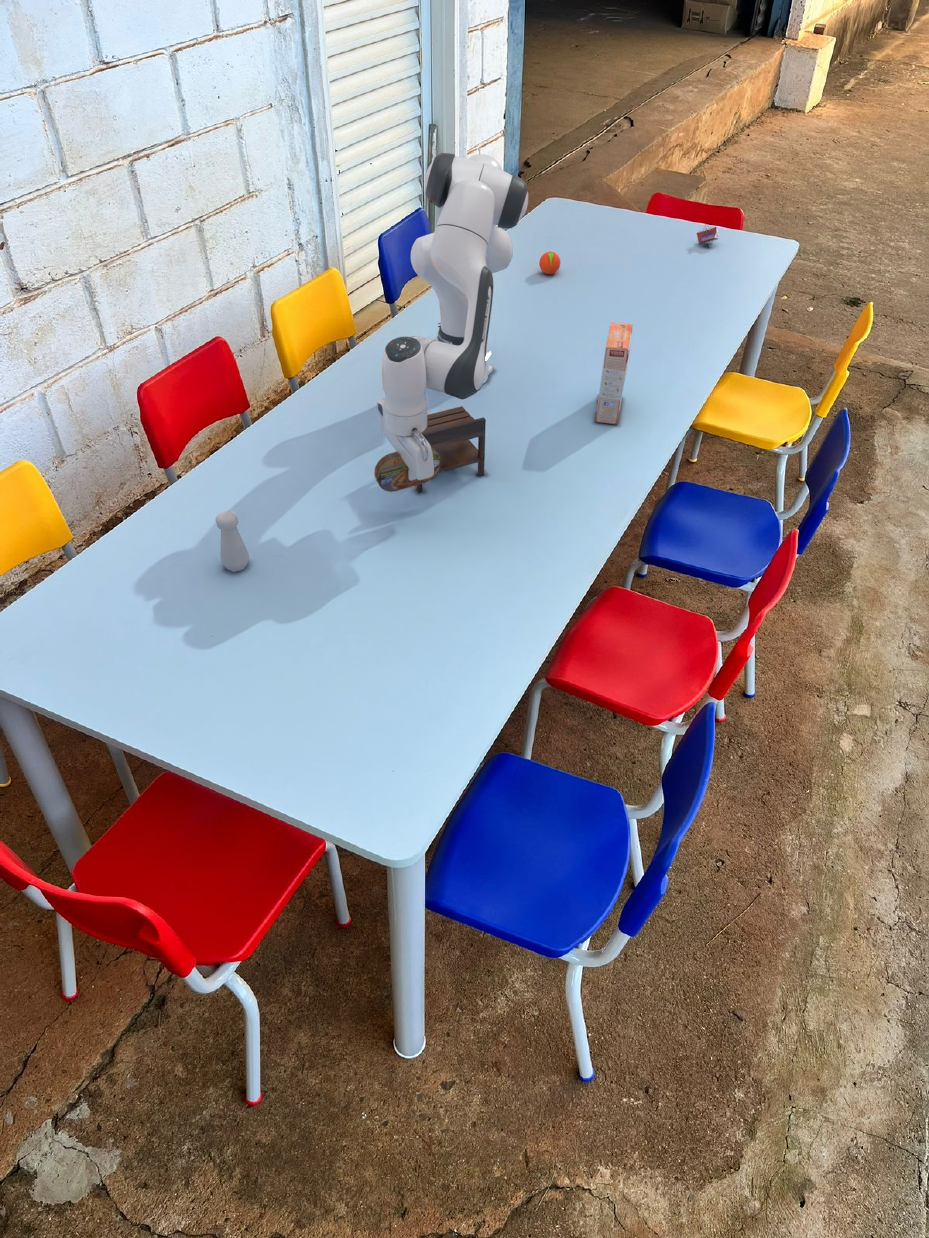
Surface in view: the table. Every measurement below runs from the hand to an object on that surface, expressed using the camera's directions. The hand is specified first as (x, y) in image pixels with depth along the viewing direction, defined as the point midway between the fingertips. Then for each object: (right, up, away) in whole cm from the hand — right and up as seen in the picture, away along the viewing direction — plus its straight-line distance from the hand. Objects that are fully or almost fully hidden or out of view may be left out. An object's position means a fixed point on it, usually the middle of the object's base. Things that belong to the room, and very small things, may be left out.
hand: (408, 473), depth 193 cm
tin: (0, -2, +2) cm, 3 cm away
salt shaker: (-35, -20, -7) cm, 41 cm away
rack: (+7, +4, +19) cm, 20 cm away
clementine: (+40, +82, +101) cm, 136 cm away
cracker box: (+50, +23, +39) cm, 67 cm away
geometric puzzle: (+97, +99, +120) cm, 183 cm away
